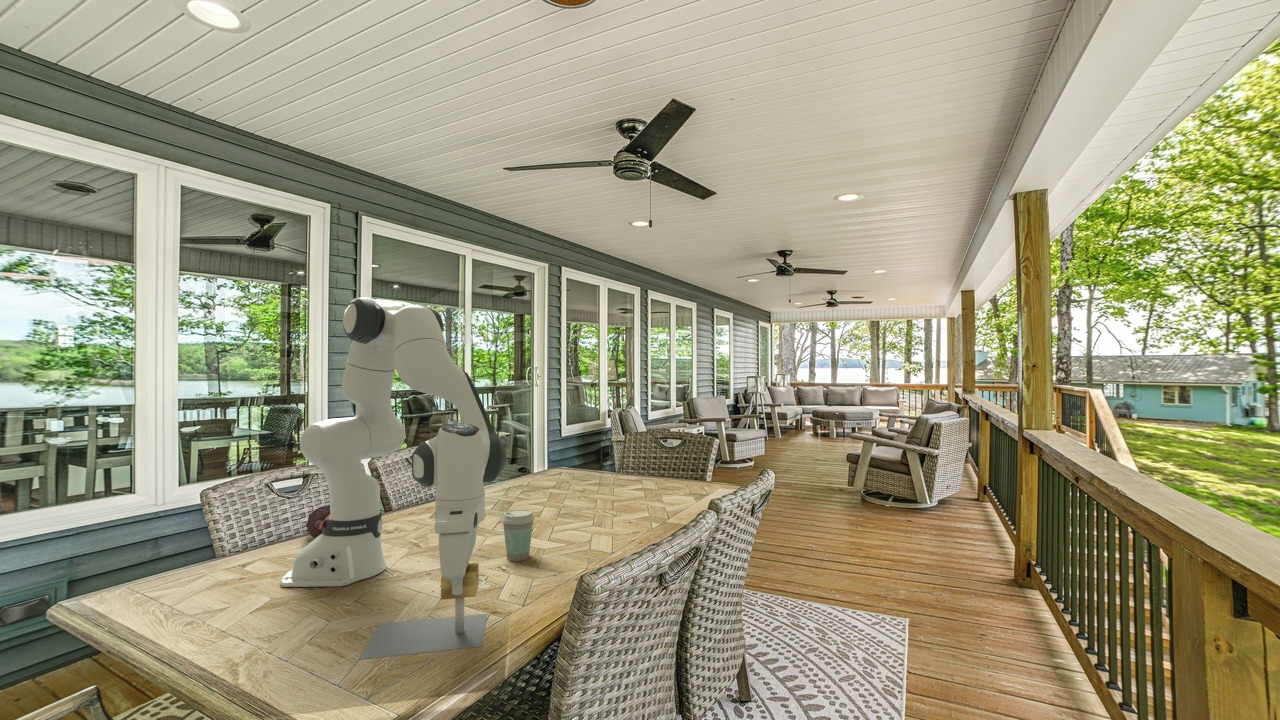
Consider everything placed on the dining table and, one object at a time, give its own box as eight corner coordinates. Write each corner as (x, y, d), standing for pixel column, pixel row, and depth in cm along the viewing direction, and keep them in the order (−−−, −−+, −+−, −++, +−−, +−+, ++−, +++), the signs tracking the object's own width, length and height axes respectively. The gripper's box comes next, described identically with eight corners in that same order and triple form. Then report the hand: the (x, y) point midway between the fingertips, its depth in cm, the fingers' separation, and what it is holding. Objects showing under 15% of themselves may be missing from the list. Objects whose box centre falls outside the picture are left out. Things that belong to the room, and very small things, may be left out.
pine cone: (297, 536, 161) (297, 504, 162) (332, 529, 169) (332, 498, 169) (317, 548, 150) (318, 513, 150) (354, 540, 157) (354, 506, 158)
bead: (440, 599, 94) (440, 577, 94) (446, 586, 100) (446, 565, 100) (475, 596, 96) (475, 574, 96) (478, 583, 101) (478, 562, 102)
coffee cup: (504, 552, 146) (504, 509, 146) (535, 551, 146) (535, 508, 147) (499, 563, 137) (499, 517, 137) (532, 562, 138) (532, 516, 138)
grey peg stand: (358, 668, 88) (358, 612, 88) (380, 631, 101) (380, 582, 101) (481, 654, 92) (481, 601, 92) (487, 621, 105) (487, 574, 105)
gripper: (451, 499, 108) (451, 567, 107) (432, 527, 88) (432, 610, 87) (483, 497, 109) (483, 564, 109) (472, 524, 89) (472, 606, 89)
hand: (460, 585), depth 98 cm, fingers closed on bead, 6 cm apart
